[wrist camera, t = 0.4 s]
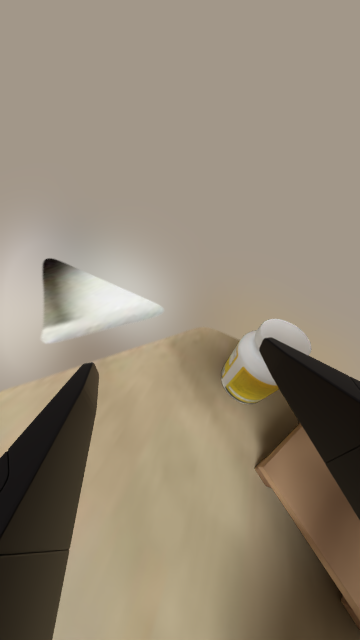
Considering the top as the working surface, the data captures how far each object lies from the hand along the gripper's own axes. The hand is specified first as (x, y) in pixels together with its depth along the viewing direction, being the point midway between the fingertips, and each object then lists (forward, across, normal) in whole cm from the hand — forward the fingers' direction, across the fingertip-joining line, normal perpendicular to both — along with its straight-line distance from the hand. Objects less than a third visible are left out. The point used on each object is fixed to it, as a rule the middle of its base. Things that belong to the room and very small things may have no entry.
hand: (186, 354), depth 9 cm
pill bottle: (+6, -11, +15) cm, 20 cm away
